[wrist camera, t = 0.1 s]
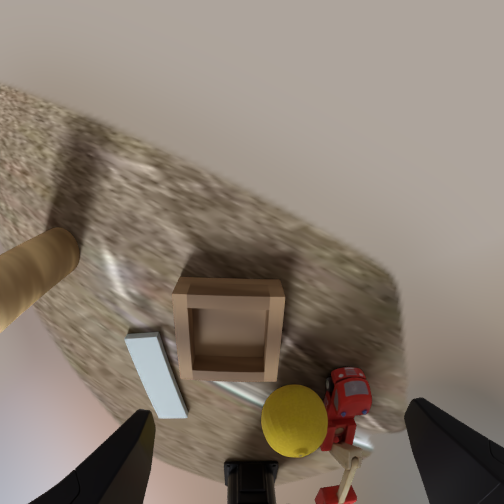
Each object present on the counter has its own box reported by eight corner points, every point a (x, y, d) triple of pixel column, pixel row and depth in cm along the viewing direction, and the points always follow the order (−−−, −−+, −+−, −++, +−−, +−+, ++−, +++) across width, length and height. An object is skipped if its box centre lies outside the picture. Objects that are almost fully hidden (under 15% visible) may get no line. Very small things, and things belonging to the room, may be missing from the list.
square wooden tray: (272, 359, 25) (276, 381, 22) (185, 356, 25) (180, 378, 22) (279, 279, 23) (285, 296, 20) (179, 276, 23) (172, 293, 20)
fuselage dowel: (82, 274, 22) (5, 347, 12) (46, 272, 22) (-33, 334, 12) (76, 227, 21) (-16, 280, 11) (39, 227, 21) (-51, 274, 10)
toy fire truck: (362, 362, 26) (401, 437, 17) (331, 447, 30) (348, 511, 21) (329, 364, 26) (360, 445, 17) (304, 449, 30) (317, 516, 21)
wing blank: (188, 412, 27) (187, 417, 26) (160, 412, 27) (159, 418, 26) (158, 331, 24) (156, 337, 23) (127, 334, 24) (124, 339, 23)
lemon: (257, 369, 26) (263, 439, 18) (319, 364, 26) (341, 429, 18) (259, 410, 27) (265, 475, 20) (315, 405, 27) (332, 467, 20)
